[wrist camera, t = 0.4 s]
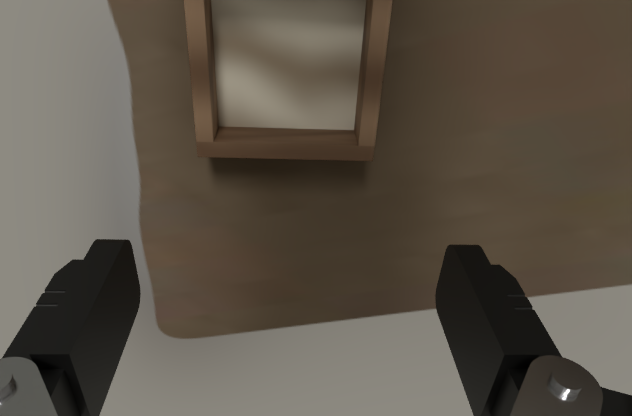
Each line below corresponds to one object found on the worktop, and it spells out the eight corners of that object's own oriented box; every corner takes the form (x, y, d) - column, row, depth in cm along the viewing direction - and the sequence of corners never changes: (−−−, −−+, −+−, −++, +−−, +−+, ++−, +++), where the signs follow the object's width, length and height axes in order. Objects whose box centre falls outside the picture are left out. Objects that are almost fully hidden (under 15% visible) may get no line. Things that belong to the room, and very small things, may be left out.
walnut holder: (190, -47, 31) (180, -42, 28) (386, -37, 32) (396, -32, 29) (205, 137, 38) (197, 156, 35) (366, 142, 39) (372, 161, 36)
